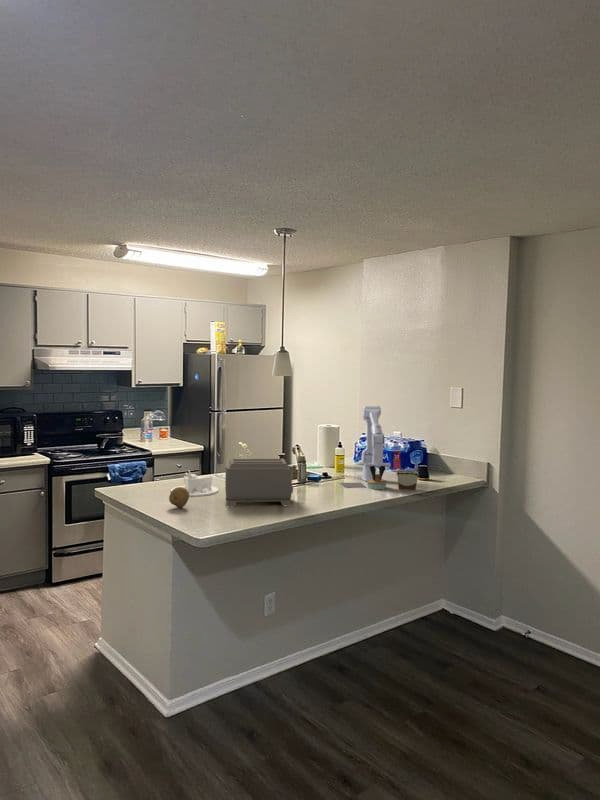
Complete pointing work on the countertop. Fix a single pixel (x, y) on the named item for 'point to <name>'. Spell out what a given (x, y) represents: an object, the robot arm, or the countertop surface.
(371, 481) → the lid
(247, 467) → the toaster
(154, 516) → the countertop surface
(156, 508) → the countertop surface
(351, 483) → the mat
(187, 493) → the natural sponge
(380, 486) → the bowl
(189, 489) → the dish
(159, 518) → the countertop surface
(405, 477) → the food container
